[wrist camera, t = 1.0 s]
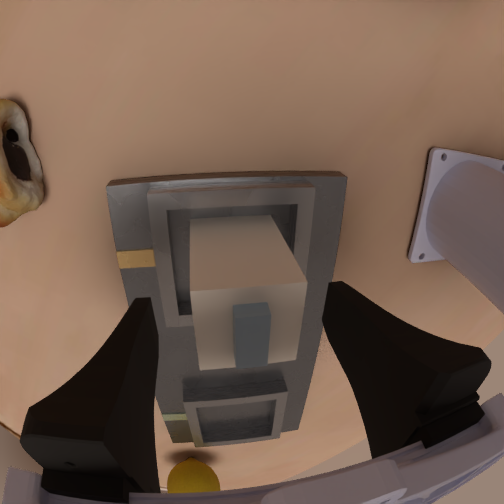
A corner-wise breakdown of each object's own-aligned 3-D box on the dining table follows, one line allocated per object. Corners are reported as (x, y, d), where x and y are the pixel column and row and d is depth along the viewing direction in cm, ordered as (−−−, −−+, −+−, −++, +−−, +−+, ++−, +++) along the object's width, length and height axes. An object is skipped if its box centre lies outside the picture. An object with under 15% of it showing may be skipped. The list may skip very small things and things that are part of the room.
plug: (270, 214, 16) (314, 293, 10) (267, 281, 18) (300, 372, 12) (190, 218, 16) (190, 304, 10) (195, 286, 18) (200, 383, 12)
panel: (339, 171, 17) (357, 184, 15) (295, 421, 28) (301, 439, 26) (110, 180, 15) (99, 194, 13) (172, 434, 27) (173, 453, 25)
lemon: (171, 444, 28) (176, 513, 21) (222, 450, 29) (233, 515, 23) (161, 463, 30) (164, 523, 23) (207, 468, 32) (214, 526, 25)
